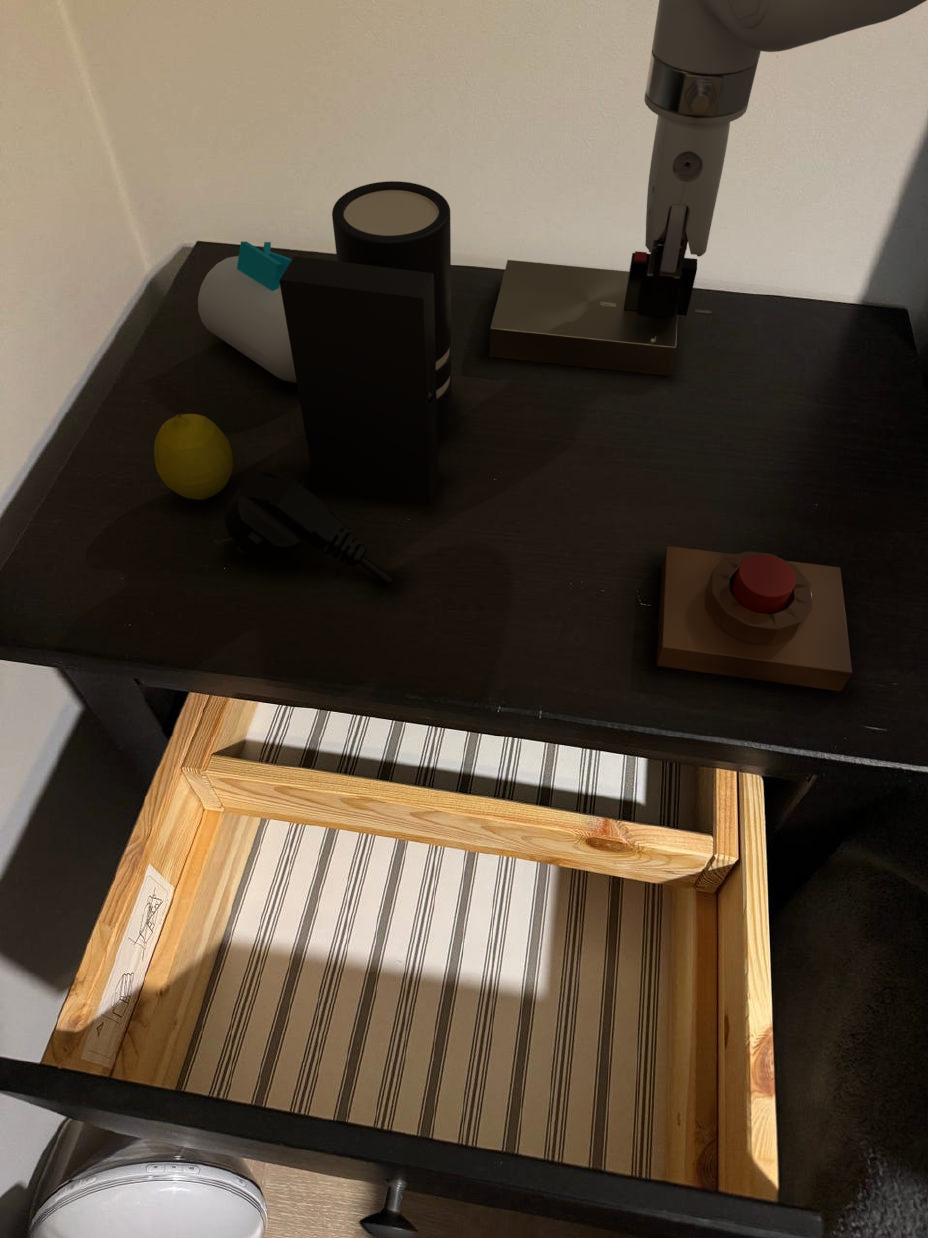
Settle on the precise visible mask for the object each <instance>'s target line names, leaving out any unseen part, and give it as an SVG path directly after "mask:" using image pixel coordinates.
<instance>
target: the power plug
mask: <svg viewBox="0 0 928 1238" xmlns="http://www.w3.org/2000/svg"><path fill="white" fill-rule="evenodd" d="M330 509H331V506H330V505H328V504H326V502H324V501H323V500H321V499H320V497H318V496H317V495H315V494H314V493H313V492H312V491H311V490H310V489H308V488H307V487H305V485H302V483H300V482H299V481H297V479H295V478H291V477H287V478H284V477H283V476H282V475H280V474H279V473H276V472H267V471H266V472H264V471H263V472H260V471H258V472H256V473H255V474H253V475H251V476H249V478H247V479H246V480H245V481H244V482H243V483H242V485H240V487H239V489H238V490H237V491H236V493H235V494H234V495H233V497H231V499H230V500H229V501H228V503H227V504H226V507H225V510H224V524H225V528H226V532H227V533H228V536H229V537H231V538H232V539H233V540H234V541H236V542H237V543H239V544H238V546H237V548H236V552H237V553H238V554H239V555H242V556H243V555H247V556H250V555H251V554H253V555H255V556H256V557H257V558H259V559H260V560H262V561H268V562H269V561H271V562H272V561H273V562H274V561H279V560H282V559H284V558H286V557H288V556H289V555H290V554H291V553H293V552H294V551H295V550H296V549H297V548H298V547H299V546H300V545H301V544H302V543H303V542H305V543H307V544H308V545H310V546H312V547H313V548H315V549H317V550H319V551H321V552H322V551H324V549H326V550H325V552H324V553H325V554H326V555H330V554H332V555H331V557H332V558H334V559H337V558H338V557H339V556H340V557H339V559H338V561H339V562H342V563H343V562H346V563H345V564H346V565H347V566H349V567H351V568H355V567H356V566H357V565H358V564H359V565H360V566H362V567H363V568H364V569H365V570H366V571H368V572H369V573H370V574H372V575H373V576H374V577H376V578H377V579H378V580H379V581H381V582H382V583H383V584H385V585H386V586H388V585H389V584H390V583H391V582H392V580H393V577H392V576H391V575H390V574H389V573H387V571H385V570H383V569H382V568H380V567H379V566H378V565H377V564H376V563H375V562H373V561H371V559H369V558H368V557H367V556H365V555H366V553H367V550H368V549H367V547H366V546H365V545H364V544H363V543H361V544H360V543H359V542H360V540H359V538H358V537H355V538H354V539H353V537H354V536H355V534H354V533H353V532H352V531H350V532H348V531H349V527H348V526H347V525H345V526H344V527H343V528H342V526H343V524H344V522H343V521H342V520H341V519H340V518H339V517H337V516H336V515H335V514H333V512H331V510H330ZM352 539H353V540H352Z"/></svg>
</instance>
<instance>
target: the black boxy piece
mask: <svg viewBox="0 0 928 1238" xmlns="http://www.w3.org/2000/svg"><path fill="white" fill-rule="evenodd" d="M657 256H658V255H657ZM649 258H650V253H648V252H647V251H637V250H636V251H634V252H632V253H631V259H630V265H629V277H628V283H627V289H626V295H625V302H624V309H626V310H636V311H637V308H638V302H639V296H640V291H641V285H642V279H643V274H644V269H648V264H649ZM697 272H698V258H694V257H693V258H691V257H684V262H683V267H682V271H681V273H682V280H681V285H680V289H679V294H678V299H677V303H676V308H675V313H674V314H675V315H678V316H687V315H688V312H689V311H688V310H689V307H690V302H691V298H692V294H693V290H694V285H695V280H696V277H697Z"/></svg>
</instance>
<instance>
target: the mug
mask: <svg viewBox="0 0 928 1238" xmlns="http://www.w3.org/2000/svg"><path fill="white" fill-rule="evenodd" d="M271 244H272V242H271V241H264V242H263V248H262V250H261V249H260V248H259V247H256V246H255V245H253V244H252V243H250V242H248V241H246V240H245V241H243V240H242V241H240V245H239V251H238V255H236V256H230V257H226V258H224V259H223V260H220V261H219V262H217V263H216V264H215V265H214V266H213V267H212V268H211V269H210V270H209V271H208V272H207V274H206V276H205V277H204V279H203V281H202V282H201V285H200V288H199V292H198V296H197V311H198V315H199V318H200V320H201V323H202V324H203V325H204V326H205V328H206V329H207V330H208V331H209V332H211V333H212V334H213V335H215V336H216V337H218V338H219V339H221V340H222V341H224V342H226V344H228V345H229V346H231V347H232V348H233V349H235V350H237V351H238V352H240V353H241V354H243V355H244V356H246V357H247V358H248V359H250V360H251V361H253V362H254V363H256V364H257V365H259V366H260V367H261V368H263V369H264V370H266V371H268V372H269V373H270V374H272V375H273V376H274V377H276V378H278V379H280V380H282V381H286V382H290V383H297V381H296V375H295V370H294V364H293V358H292V352H291V346H290V341H289V335H288V329H287V323H286V317H285V311H284V306H283V300H282V294H281V288H280V282H279V280H280V279H281V277H282V275H283V274H284V272H285V270H286V269H287V267H288V265H289V264H290V262H291V260H292V259H293V258H290V257H287V256H284V255H281V254H279V253H276V252H273V251H271V249H272V245H271Z"/></svg>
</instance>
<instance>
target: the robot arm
mask: <svg viewBox="0 0 928 1238" xmlns="http://www.w3.org/2000/svg"><path fill="white" fill-rule="evenodd" d="M927 1H928V0H658V6H657V12H656V13H657V14H656V20H655V27H654V33H653V40H652V46H651V53H650V60H649V67H648V71H647V74H648V75H647V81H646V85H645V92H644V97H643V98H644V103H645V105H646V107H647V108H648V109H649V110H650V111H651V112H652V113H654V114H655V115H657V120H656V124H655V125H656V126H655V131H654V132H655V133H654V139H653V145H652V153H651V160H650V167H649V175H648V184H647V193H646V194H647V195H646V212H645V213H646V214H645V243H644V245H645V247H646V250H648V253H649V254H650V258H649V264H648V269H644V274H643V279H642V285H641V291H640V296H639V302H638V308H637V312H638V313H639V314H642V315H652V316H662V317H672V316H673V315H674V313H675V308H676V303H677V299H678V294H679V289H680V285H681V280H682V273H681V271H682V267H683V262H684V258H686V257H685V256H686V253H687V249H689V252H690V253H689V254H690V255H693V256H694V255H695V256H696V257H702V256H704V254H705V253H707V248H708V244H709V239H710V233H711V228H712V223H713V217H714V213H715V207H716V203H717V198H718V194H719V189H720V184H721V179H722V174H723V168H724V164H725V159H726V153H727V147H728V142H729V141H728V140H729V134H730V127H731V122H734V121H735V120H738V119H740V118H741V117H743V115H744V114H746V112H747V110H748V107H749V103H750V98H751V94H752V90H753V85H754V81H755V77H756V72H757V68H758V64H759V60H760V57H761V52H765V53H777V52H778V53H779V52H784V51H785V52H786V51H788V50H792V49H795V48H799V47H802V46H807V45H810V44H813V43H817V42H820V41H824V40H826V39H828V38H832V37H834V36H838V35H841V34H845V33H848V32H851V31H855V30H859V29H862V28H864V27H869V26H872V25H877V24H881V23H884V22H887V21H889V20H892V19H895V18H897V17H899V16H901V15H903V14H905V13H907V12H909V11H911V10H913V9H915V8H917V7H918V6H920V5H922V4H924V3H925V2H927ZM657 255H658V256H657Z"/></svg>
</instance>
